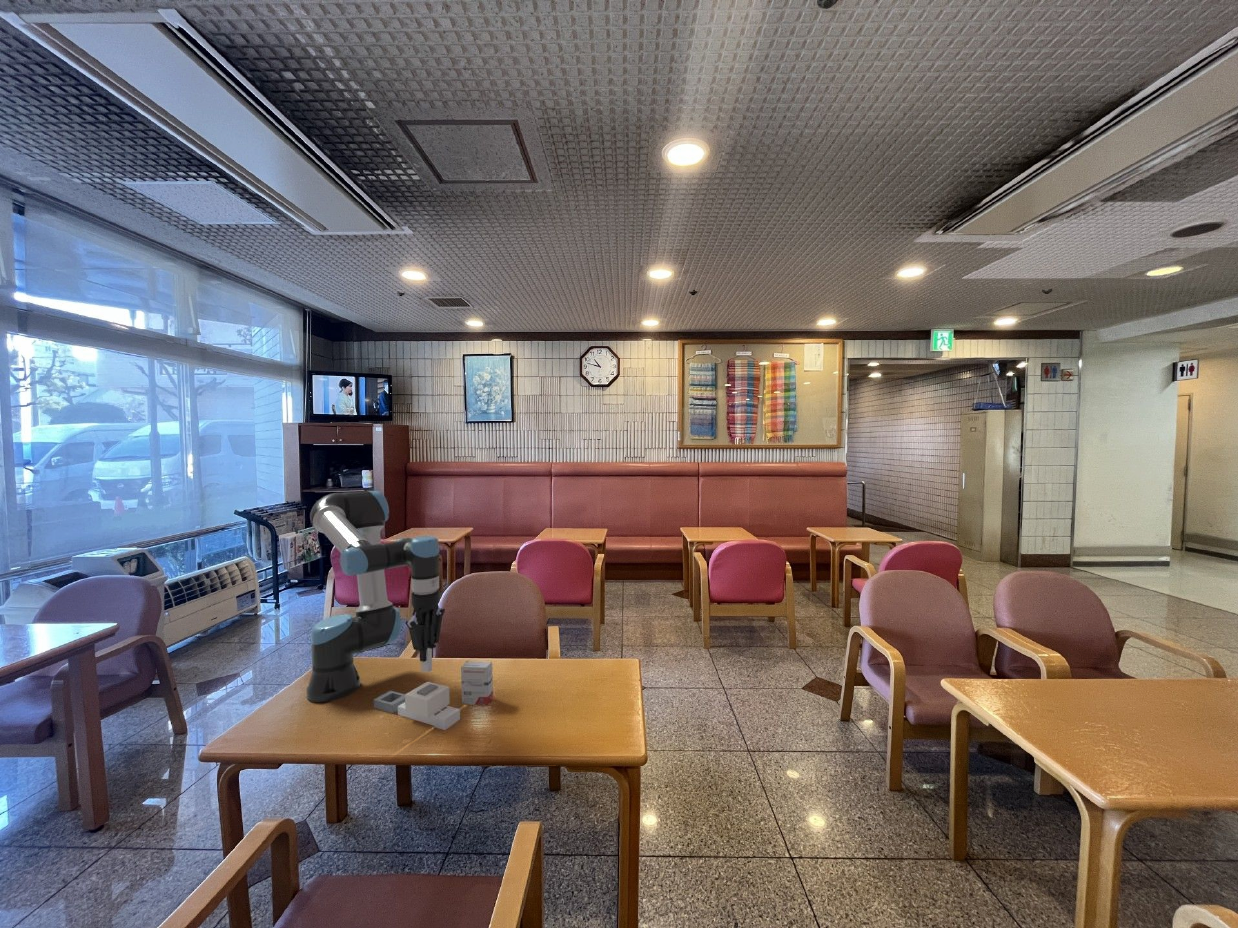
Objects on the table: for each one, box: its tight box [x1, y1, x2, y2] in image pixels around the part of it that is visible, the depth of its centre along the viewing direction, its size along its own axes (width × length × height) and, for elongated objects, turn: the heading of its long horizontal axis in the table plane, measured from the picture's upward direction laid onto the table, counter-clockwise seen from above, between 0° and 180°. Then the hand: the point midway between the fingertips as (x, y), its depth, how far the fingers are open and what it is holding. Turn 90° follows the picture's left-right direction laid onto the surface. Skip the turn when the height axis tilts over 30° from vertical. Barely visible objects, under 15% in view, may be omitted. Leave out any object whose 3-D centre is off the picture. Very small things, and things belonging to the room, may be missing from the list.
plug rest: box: [373, 690, 406, 714], centre depth 150 cm, size 8×6×3 cm
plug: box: [405, 681, 450, 718], centre depth 144 cm, size 8×8×8 cm
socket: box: [397, 702, 461, 731], centre depth 144 cm, size 18×6×4 cm, turn 66°
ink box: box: [460, 660, 494, 706], centre depth 153 cm, size 9×5×12 cm, turn 84°
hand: (426, 670), depth 144 cm, fingers closed
